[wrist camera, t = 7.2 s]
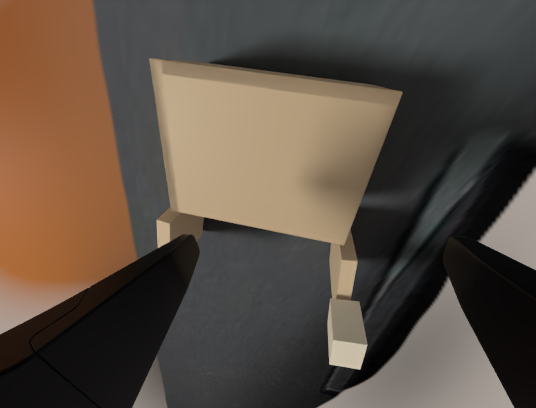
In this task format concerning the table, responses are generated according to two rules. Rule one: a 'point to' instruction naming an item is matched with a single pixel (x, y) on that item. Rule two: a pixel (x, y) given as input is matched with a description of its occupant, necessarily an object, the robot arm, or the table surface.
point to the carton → (269, 145)
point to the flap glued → (177, 226)
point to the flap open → (345, 309)
